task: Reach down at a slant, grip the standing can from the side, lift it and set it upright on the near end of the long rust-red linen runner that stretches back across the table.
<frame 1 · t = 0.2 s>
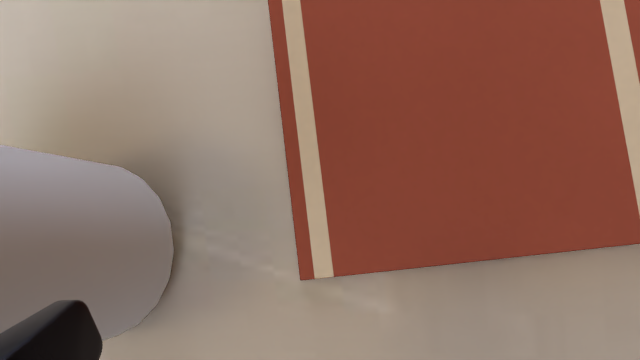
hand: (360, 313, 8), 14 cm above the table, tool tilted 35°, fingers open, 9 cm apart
can: (109, 249, 26), on the table
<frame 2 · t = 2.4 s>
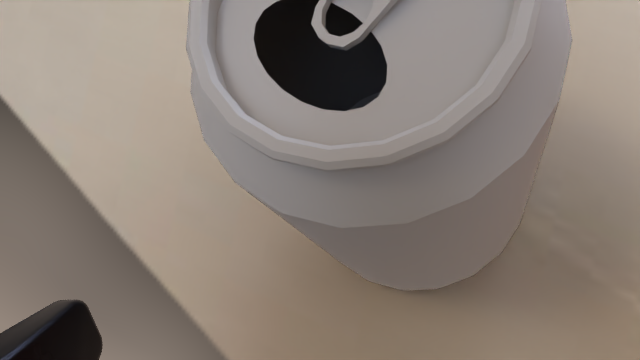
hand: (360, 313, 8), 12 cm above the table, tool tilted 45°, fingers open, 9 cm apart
can: (416, 190, 21), on the table
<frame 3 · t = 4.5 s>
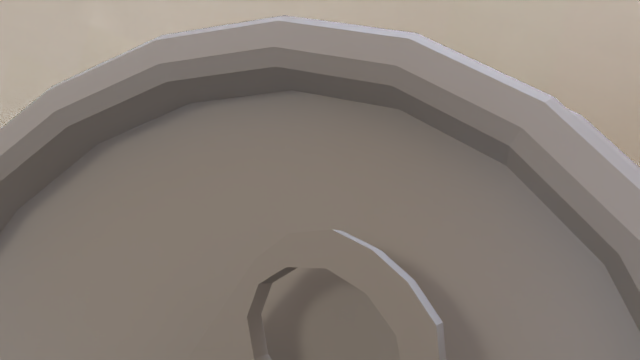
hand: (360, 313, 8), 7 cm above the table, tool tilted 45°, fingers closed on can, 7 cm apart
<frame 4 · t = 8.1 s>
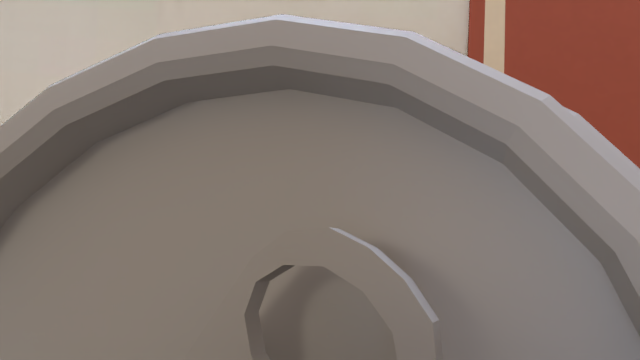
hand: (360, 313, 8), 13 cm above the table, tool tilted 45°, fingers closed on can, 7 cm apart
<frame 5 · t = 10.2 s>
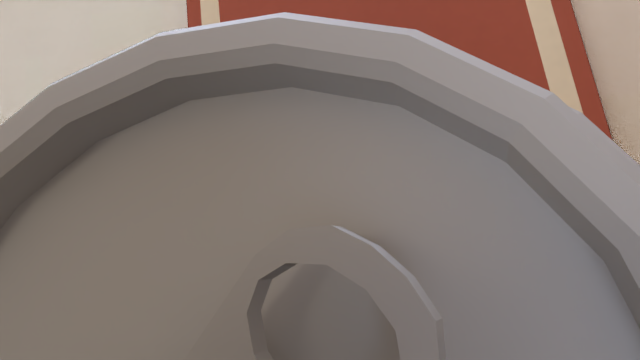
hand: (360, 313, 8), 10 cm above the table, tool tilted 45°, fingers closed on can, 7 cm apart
when the fingers open (7 cm above the table, at t = 11.8 s): can stays where it is, resting on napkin.
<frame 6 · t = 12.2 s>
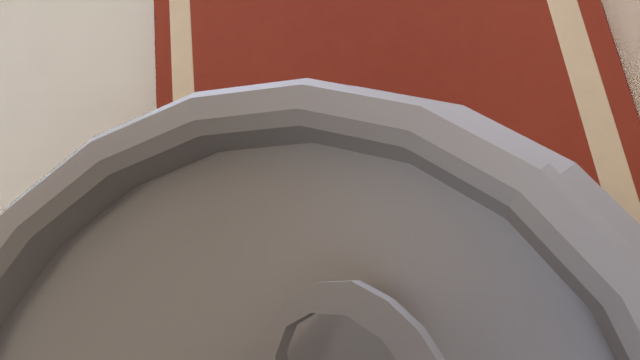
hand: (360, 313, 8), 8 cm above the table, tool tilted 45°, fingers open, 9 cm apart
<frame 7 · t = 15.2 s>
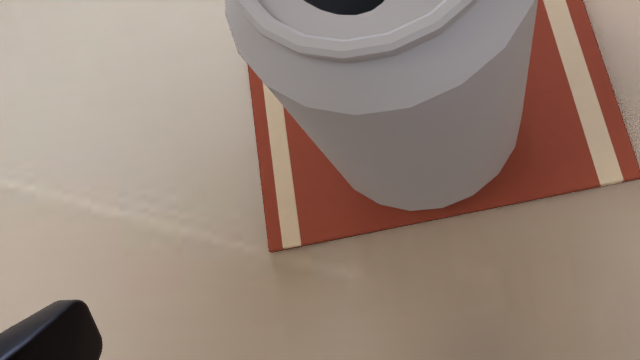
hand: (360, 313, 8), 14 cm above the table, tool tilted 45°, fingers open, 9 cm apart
can: (421, 125, 23), resting on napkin
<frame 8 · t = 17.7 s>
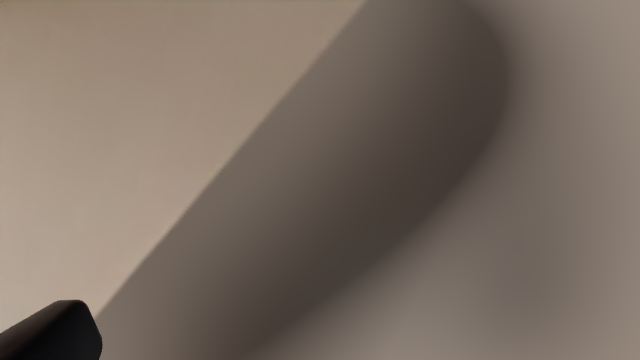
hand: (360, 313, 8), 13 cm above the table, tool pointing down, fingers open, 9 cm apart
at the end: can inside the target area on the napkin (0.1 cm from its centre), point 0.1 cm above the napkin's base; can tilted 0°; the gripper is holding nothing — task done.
